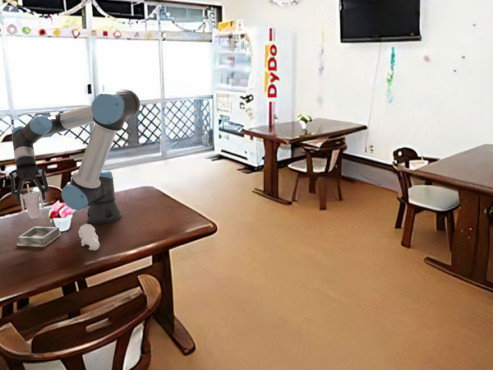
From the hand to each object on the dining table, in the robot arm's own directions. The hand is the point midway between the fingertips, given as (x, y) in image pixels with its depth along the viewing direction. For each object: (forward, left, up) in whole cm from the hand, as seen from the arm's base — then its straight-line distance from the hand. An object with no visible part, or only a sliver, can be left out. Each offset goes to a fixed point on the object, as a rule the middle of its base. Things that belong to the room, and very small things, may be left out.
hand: (33, 208), depth 168 cm
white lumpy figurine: (-23, +1, -15) cm, 28 cm away
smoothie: (+2, -3, -5) cm, 6 cm away
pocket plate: (+2, -3, -15) cm, 16 cm away
